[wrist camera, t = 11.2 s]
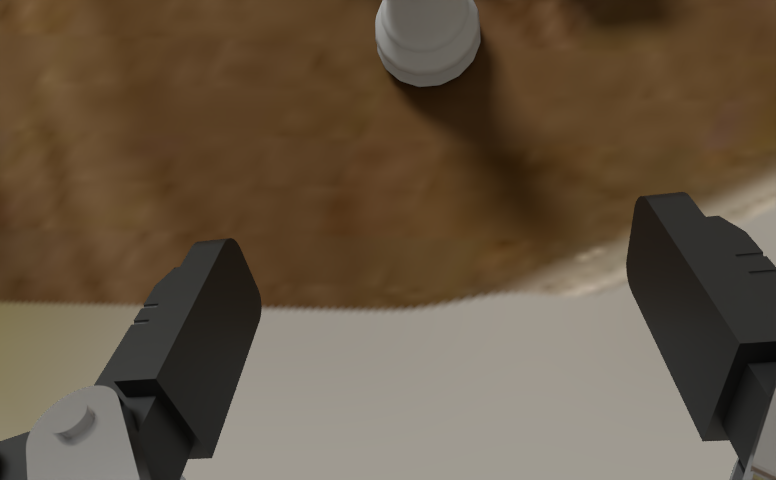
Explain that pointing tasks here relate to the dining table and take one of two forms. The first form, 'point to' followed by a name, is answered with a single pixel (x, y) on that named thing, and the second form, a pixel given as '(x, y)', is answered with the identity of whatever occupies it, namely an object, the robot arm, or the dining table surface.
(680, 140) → the dining table surface
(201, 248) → the robot arm
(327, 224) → the dining table surface
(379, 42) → the rook chess piece
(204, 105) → the dining table surface
